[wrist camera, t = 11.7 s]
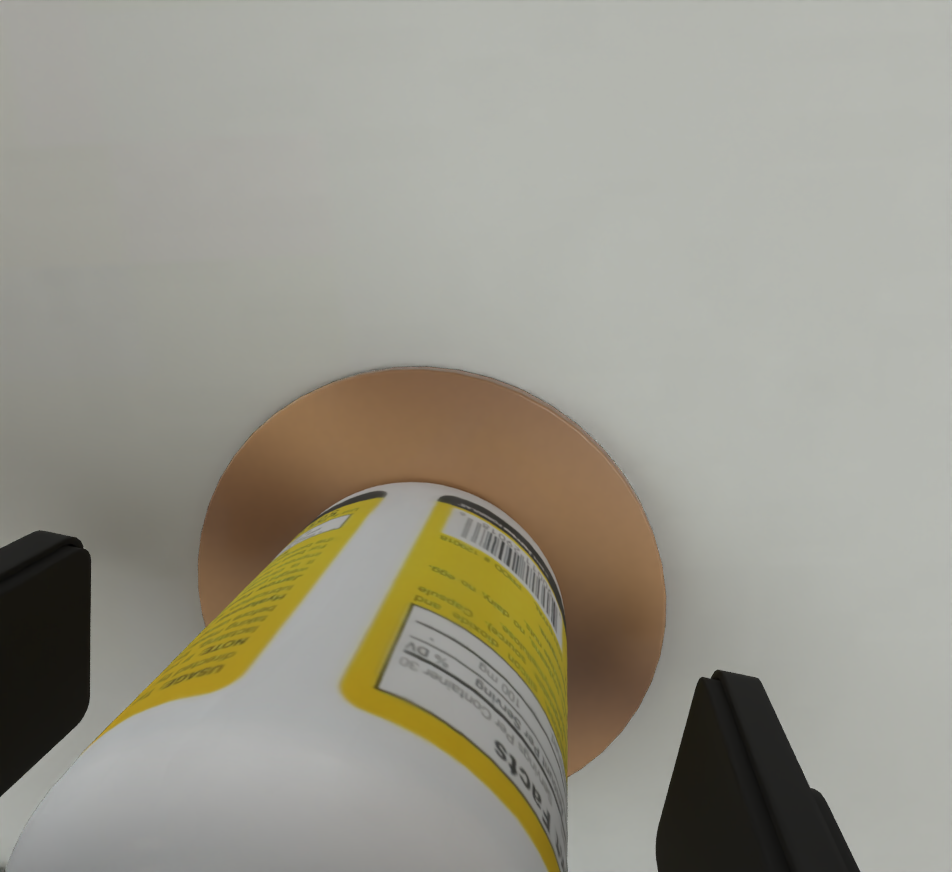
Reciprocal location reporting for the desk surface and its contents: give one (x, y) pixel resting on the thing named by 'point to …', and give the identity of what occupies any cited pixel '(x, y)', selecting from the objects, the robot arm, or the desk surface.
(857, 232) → the desk surface
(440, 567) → the supplement bottle
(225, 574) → the coaster
